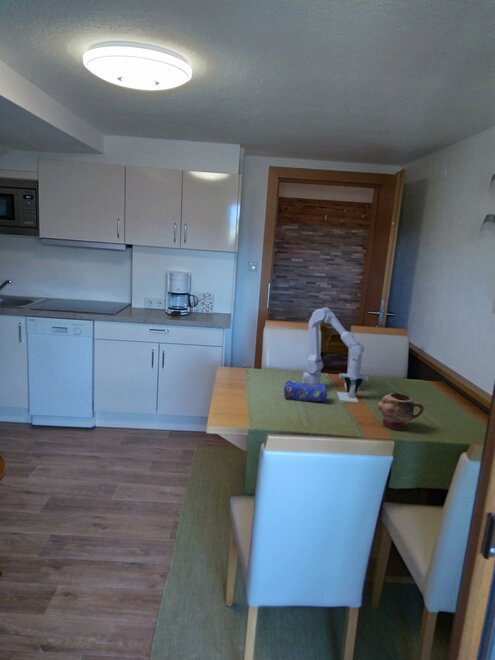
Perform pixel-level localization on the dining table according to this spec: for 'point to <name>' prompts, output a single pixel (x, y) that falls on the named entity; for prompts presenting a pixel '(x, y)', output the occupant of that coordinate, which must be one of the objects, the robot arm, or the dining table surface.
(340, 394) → the note pad
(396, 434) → the dining table surface
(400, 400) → the brown sculpted mug
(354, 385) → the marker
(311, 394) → the pencil case
